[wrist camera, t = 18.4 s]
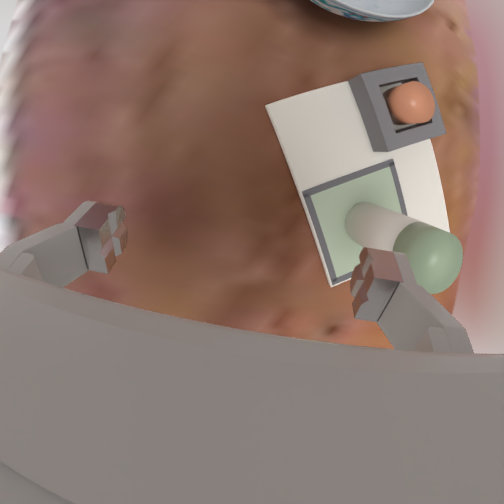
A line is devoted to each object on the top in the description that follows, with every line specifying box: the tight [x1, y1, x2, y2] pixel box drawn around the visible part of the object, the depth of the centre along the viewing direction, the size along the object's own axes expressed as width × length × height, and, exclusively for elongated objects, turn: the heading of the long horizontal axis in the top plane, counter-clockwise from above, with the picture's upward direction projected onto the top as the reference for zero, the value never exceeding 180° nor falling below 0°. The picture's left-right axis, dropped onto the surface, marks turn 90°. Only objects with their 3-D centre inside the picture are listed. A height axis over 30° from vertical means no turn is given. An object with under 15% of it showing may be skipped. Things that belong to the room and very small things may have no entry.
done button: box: [383, 81, 435, 125], centre depth 23 cm, size 4×4×4 cm
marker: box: [345, 202, 463, 294], centre depth 23 cm, size 4×4×12 cm
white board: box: [265, 62, 450, 287], centre depth 26 cm, size 18×15×4 cm
